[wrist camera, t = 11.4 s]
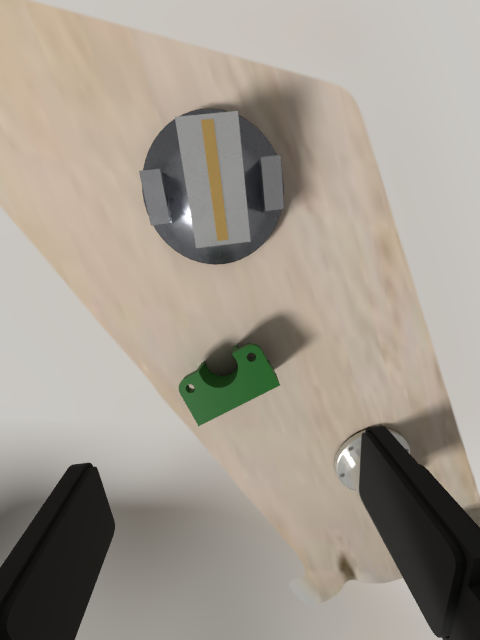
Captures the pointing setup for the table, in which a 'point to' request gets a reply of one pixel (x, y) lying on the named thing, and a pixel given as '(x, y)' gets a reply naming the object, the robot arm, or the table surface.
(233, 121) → the striped grey block
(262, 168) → the shallow grey dish
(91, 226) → the table surface
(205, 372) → the clamp
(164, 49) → the table surface
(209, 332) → the table surface
